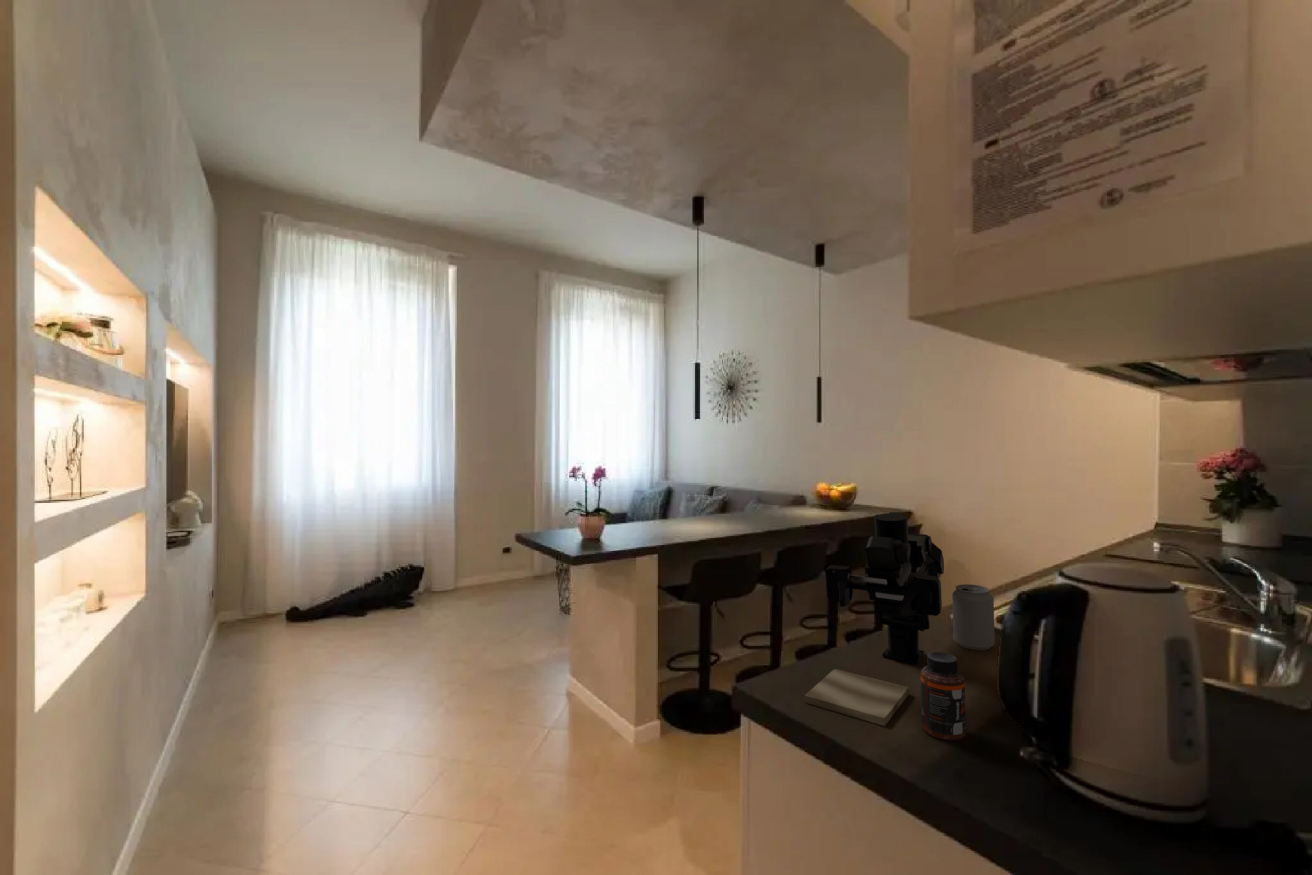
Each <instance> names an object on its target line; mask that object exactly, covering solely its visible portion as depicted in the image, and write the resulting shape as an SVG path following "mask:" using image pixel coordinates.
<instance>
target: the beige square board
mask: <svg viewBox="0 0 1312 875" xmlns="http://www.w3.org/2000/svg"><path fill="white" fill-rule="evenodd" d="M909 695H910V687H909V686H905V685H902V684H901V685H900V684H897V683H893V682H891V681H890V682H889V681H885V680H882V679H877V678H873V677H871V676H865V675H860V674H857V673H854V672H849V671H846V670H841V669H837V668H834V669H832V671H830V672H829V673H828V674H827V675H825V677H824V678H823V679H821V680H820V681H819V682H818V683H817V684H815V686H813V687H812V688H811V689H810V690H809V691H807V693H805V695H804V703H806V704H809V705H812V706H816V707H819V708H822V709H826V710H830V711H833V712H836V713H839V714H841V715H842V714H843V715H846V716H849V717H853V718H855V719H859V720H862V721H866V722H869V723H873V724H876V725H880V726H883V727H885V726H886V725H887V724H888V723H889V721H890V720H891V719H892V717H893V716H894V715H895V713H896V712H897V711H898V709H899V708H900V707H901V706H902V705H903V703H904V701H905V700H906V699H907V698H908V696H909Z"/></svg>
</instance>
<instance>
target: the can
mask: <svg viewBox="0 0 1312 875" xmlns="http://www.w3.org/2000/svg"><path fill="white" fill-rule="evenodd" d="M990 591H991V590H990V589H989V588H988V587H986V586H984V585H983V586H982V585H977V584H971V583H964V584H963V583H962V584H958V585H956V586H955V590H954V591H953V592H952V594H951V597H952V601H951V602H952V633H953V634H952V638H953V640H954V642H956V643H957V644H958V645H959V646H960V647H962V648H965V649H969V650H973V651H987V650H989V649H991V648H992V647H993V646H995V642H996V641H995V640H996V638H995V605H994V604H995V601H994V596H993V595H992V594H991V593H990Z"/></svg>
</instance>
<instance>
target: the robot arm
mask: <svg viewBox="0 0 1312 875" xmlns="http://www.w3.org/2000/svg"><path fill="white" fill-rule="evenodd" d="M908 525H909V524H908V516H906V515H905V514H901V512H896V511H895V512H893V511H892V512H891V511H890V512H889V513H888V512H887V513H881V514H875V515H874V531H875V532H874V536H870V537H868V541H867V543H866V547H865V550H864V552H865V556H866V565H865V566H864V573H865V575H867V576H865V575H856V574H852V568H851V567H850V566H846V565H836V564H831V565H829V566H828V567H827V568H826V569H825V584H826V597H827V599H829V600H830V601H832V602H834V603H839V607H841V608H844V607H846V606H849V605H850V604H851V601H852V599H853V593H854V591H853V590H860V591H867V593H868V595H869V597H868V598H869V600H870V601H875V609H876V610H875V611H876V618H877V624H878V625H885V626H886V627H887V628H886V629H887V648H886V649H885V650H883V652H882V653H881V655H882V657H883V658H889V659H893V660H897V661H898V660H899V661H902V662H907V663H911V664H918V662H919V661H920V660H921V659H922V657H924V655H925V652H926V651H925V650H922V649H920V642H919V641H920V640H919V637H920V636H919V631H920V632H924V631H925V630H926V631H927V630H930V617H929V616H933V617H937V616H938V615H940V614H941V611H942V606H943V605H942V604H943V603H942V584H941V583H942V582H941V579H940V578H941V575H944V574H945V573H944V572H945V561H944V559H945V558H944V556H943V551H942V549H941V548H939V547H938V546H937V545H936V544H935V543H934V542H933V541H932V537H931V535H928V534H924V533H911V532H910V533H909V526H908Z"/></svg>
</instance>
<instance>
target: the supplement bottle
mask: <svg viewBox="0 0 1312 875" xmlns="http://www.w3.org/2000/svg"><path fill="white" fill-rule="evenodd" d="M926 656H927V657H926V658H927V660H926V664H927V665H926V666H924V667H923V668H922V669H921V671H920V704H921V705H920V707H921V709H920V710H921V726H922V728H923V730H924V731H925V732H926V733H927V734H928V735H930V736H931V737H934V738H937V739H940V740H945V741H953V740H954V741H959V740H962V739H963V738H965V736H966V734H967V712H966V711H967V709H966V708H967V707H966V678H965V676H964V674H963V673H962V672H961V671H960V670H959V668H958V659H957V657H956V656H955V655H953V654H951V653H947V652H940V651H933V652H932V651H931V652H929V653H928V654H927V655H926Z"/></svg>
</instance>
